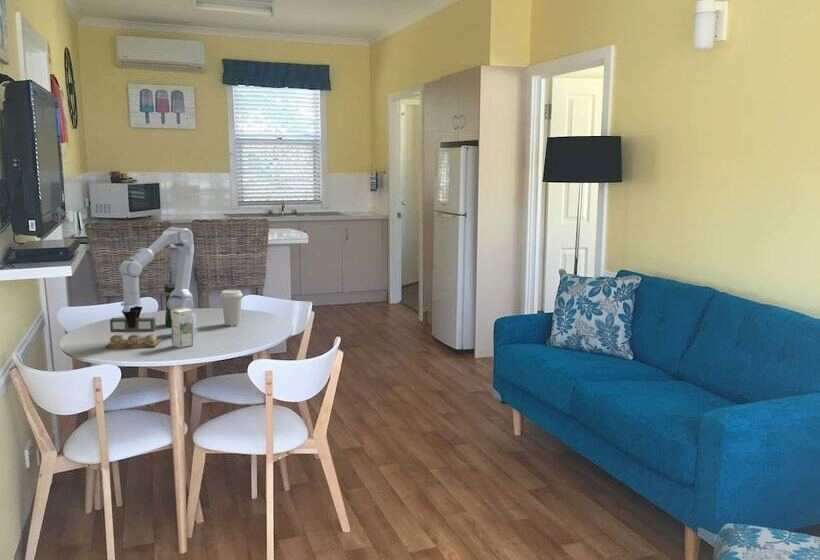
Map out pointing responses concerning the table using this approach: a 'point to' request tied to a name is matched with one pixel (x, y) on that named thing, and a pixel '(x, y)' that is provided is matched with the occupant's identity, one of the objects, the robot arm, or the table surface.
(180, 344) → the syrup box
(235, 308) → the coffee cup
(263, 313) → the table surface
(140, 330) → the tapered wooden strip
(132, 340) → the display stand
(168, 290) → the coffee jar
